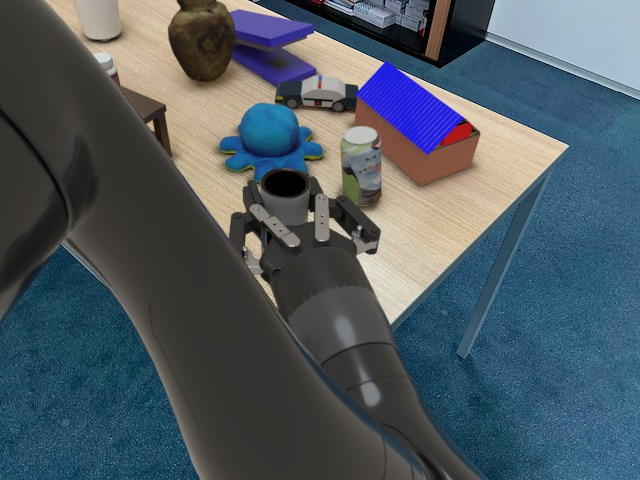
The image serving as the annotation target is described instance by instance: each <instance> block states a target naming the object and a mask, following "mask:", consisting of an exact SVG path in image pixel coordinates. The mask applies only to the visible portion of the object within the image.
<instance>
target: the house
mask: <svg viewBox="0 0 640 480" xmlns="http://www.w3.org/2000/svg"><path fill="white" fill-rule="evenodd" d="M358 90H359V91H358V92H357V93H356V94H355V95H357V105H356V108H355V115H354V123H353V127H357V126H367V127H371V128H373V129H374V130H376V132H377V135H378V136H379V137H380V139H381V153H383V154H384V155H385V156H386V157H387V158H388V159H389V160H390V161H391V162H392V163H394V164H395V165H396V166H397V167H398V168H399V169H400V170H401V171H402V172H404V174H406V175H407V176H408V177H409V178H410V179H412V181H414V182H415V183H416V184H417V185H418V186H419V187H422V186H424V185H427V184H429V183H432V182H434V181H437V180H440V179H442V178H444V177H446V176H449V175H452V174H454V173H458V172H460V171H463V170H464V169H468V168H470V167H471V166H472V163H473V159H474V156H475V153H476V150H477V147H478V144H479V141H480V137H481V135H482V133H481V131H480V130H479V129H478V128H477V127H475V125H473V123H471V122H470V121H469V120H468V119H466V118H465V117H464V116H463V115H461V114H460V113H459V112H457V111H456V110H455V109H454V108H452V107H451V106H449V105H448V104H447V103H445V102H444V101H442V100H441V99H440V98H438V97H437V96H435V94H433V93H432V92H430V91H428V89H426V88H425V87H423V86H422V85H421V84H419V83H418V82H416V81H415V80H413V79H412V78H411V77H409V76H408V75H407V74H406V73H404V72H402V71H401V70H400V69H399V68H397V67H396V66H394V65H393V64H392V63H390V62H389V61H388V60H385V61H384V62H383V63H382V64H381V66H380V67H379V68H378V69H377V70H376V71H375V72H374V73H373V74H372V75H371V76H370V77H369V78H368V79H367V80H366V82H365V83H364V84H363V85H362V86H361V87H360V88H359V89H358Z"/></svg>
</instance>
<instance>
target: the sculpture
mask: <svg viewBox="0 0 640 480" xmlns="http://www.w3.org/2000/svg"><path fill="white" fill-rule="evenodd" d="M175 1H176V3H177V5H178V6H179V8H180V9H179V10H178V11H177V12H176V13H175V14H174V15H173V17H172V18H171V20H170V22H169V25H168V26H167V37H168V42H169V46H170V48H171V52H172V54H173V55H174V57H175V59H176V61H177V62H178V65H179V66H180V67H181V69H182V71H183V72H184V73H185V75H186V76H187V77H188V78H189V79H191V80H192V81H195V82H197V83H211V82H214V81H216V80H217V79H219V78H220V77H222V76H223V75H224V74H225V72H226V70H227V69H228V67H229V65H230V64H231V60H232V59H233V58H232V54H233V50H234V45H235V26H234V21H233V18H232V15H231V14H230V13H229V12H230V11H229V10H228V7H227V5H226V4H224V3H223V2H221V1H219V0H218V1H217V0H175Z"/></svg>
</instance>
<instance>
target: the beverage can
mask: <svg viewBox="0 0 640 480" xmlns="http://www.w3.org/2000/svg"><path fill="white" fill-rule="evenodd" d="M339 147H340V148H339V150H340V163H341V164H340V165H341V180H342V193H343V194H342V195H345V196H347V197H348V198H349V199H350V200H351V201H352V202H353V203H354V204H355V205H356V206H357V207H367V206H371V205H373V204H375V203H377V202H378V201H379V200H380V199H381V197H382V194H383V193H382V192H383V191H382V187H383V185H382V183H383V182H382V181H383V180H382V151H381V139H380V137H379V136H378V135H377V132H376V130H374V129H373V128H371V127H367V126H357V127H354V126H352V127H350V128H348V129H347V130H346V131H344V133H343V137H342V138H341V140H340V143H339Z"/></svg>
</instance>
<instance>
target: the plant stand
mask: <svg viewBox="0 0 640 480" xmlns="http://www.w3.org/2000/svg"><path fill="white" fill-rule="evenodd" d="M117 85H118V84H117ZM118 87H119V88H120V89H121V91H122V92H123V93H124V95H125V96H126V97H127V99H128V100H129V101H130V102H131V104H132V105H133V106H134V108H135V109H136V111H137V112H138V113H139V115H140V116H141V118H142V119H143V120H144V122H145V123H146V124H147V125H148V124H149V123H151V122H152V124H153V129H154V130H152V129H150V130H151V131H152V133H153V134H154V136H155V137H156V138H157V140H158V141H159V143H160V144H161V145H162V147H163V148H164V149H165V151H166V152H167V154H168V155H169V156H170V158H171V159H172V157H173V153H172V152H173V151H172V147H171V141H170V135H169V130H168V123H167V118H166V112H167V111H168V109H167V104H166V103H163V102H161V101H158V100H156V99H153V98H152V97H149V96H147V95H145V94H142V93H139V92H137V91H135V90H132V89H130V88H128V87H126V86H123V85H121V84H120V85H118Z"/></svg>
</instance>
